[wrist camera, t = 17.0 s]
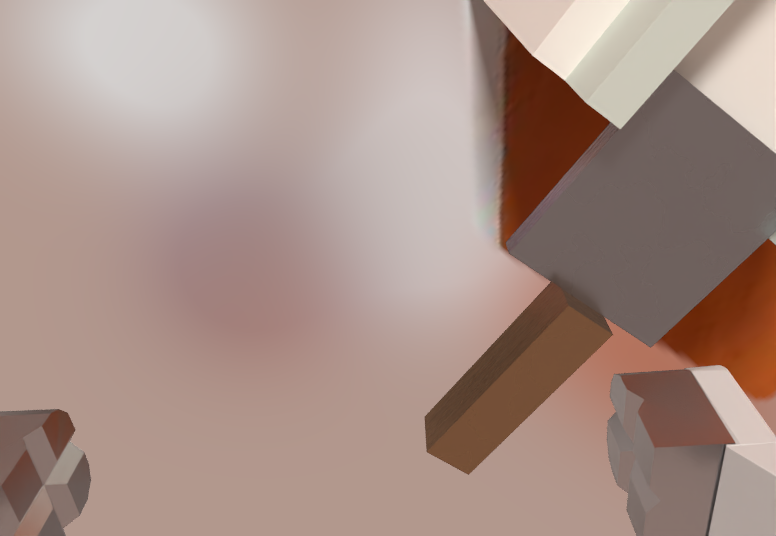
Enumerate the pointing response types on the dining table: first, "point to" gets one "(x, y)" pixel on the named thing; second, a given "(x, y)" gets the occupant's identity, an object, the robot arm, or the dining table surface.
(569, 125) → the dining table surface
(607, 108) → the tall box with rails
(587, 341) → the brown block on plate
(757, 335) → the dining table surface
